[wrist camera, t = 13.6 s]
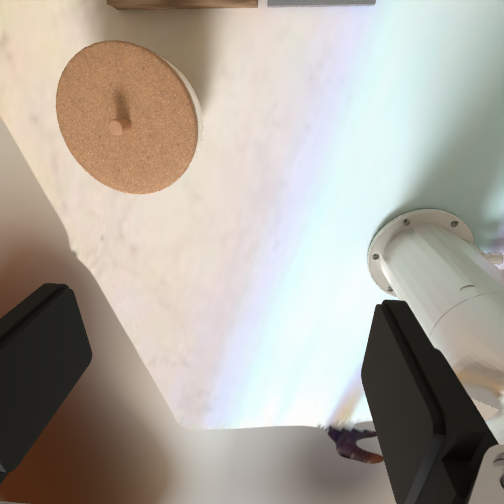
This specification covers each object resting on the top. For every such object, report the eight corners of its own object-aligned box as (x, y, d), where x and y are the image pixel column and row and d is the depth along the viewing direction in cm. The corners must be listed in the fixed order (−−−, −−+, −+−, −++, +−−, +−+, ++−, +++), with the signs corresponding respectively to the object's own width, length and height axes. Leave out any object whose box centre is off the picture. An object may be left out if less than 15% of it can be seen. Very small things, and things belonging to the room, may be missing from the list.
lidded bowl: (142, 188, 40) (97, 219, 30) (83, 84, 35) (6, 81, 25) (232, 149, 37) (215, 170, 27) (182, 30, 32) (138, 2, 22)
